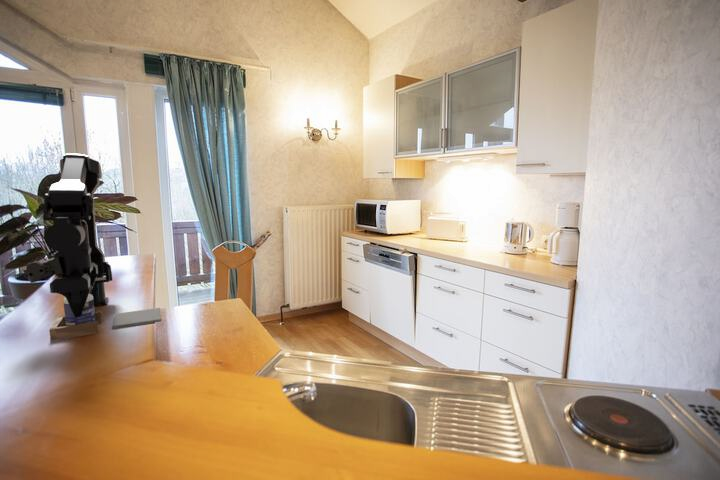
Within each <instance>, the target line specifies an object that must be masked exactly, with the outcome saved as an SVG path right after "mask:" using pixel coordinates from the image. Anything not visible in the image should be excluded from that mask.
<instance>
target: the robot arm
mask: <svg viewBox="0 0 720 480" xmlns="http://www.w3.org/2000/svg"><path fill="white" fill-rule="evenodd" d="M59 168H60V169H59V170H60V179H59V181H58V182H55V183H52V184H51V185H50V187H49V189H48V192H47V193H45V194H44V199H43V200H44V202H43V215H42V219H43V220H42V221H44V222H49V221H50V222H51V221H52V225H51V226H50V227H48V228H47V230H46V231H45V233H44V236H43V237H44V241H45V244H46V245H47V247H49V249H51V250H53V251H55V252H54V253H53V257H51V258H48V259H45V260H42V261H39V260H35V261H33V262H29V263H27V264H26V266H25V267H26V268H25V267H24V268H23V269H22V271H23V277H24V278H25V279H28V281H29V282H30V283H31V284H34V283H35V282H38V281H39V280H41V279H44V278H47V277H50V276H52V275H54V276H55V278H54V279H53V280H52V281H51V282H50V283H49V290H50V293H51V294H59V295H62V296H63V297H64V298H66V299H67V301H68V303H69V305H70V307H71V310H72V312H73V314H74V316H75V317H80V316H81V315H82V312H83V309H84V306H85V303H86V301H87V298H88V295H89V294H91V295H92V296H93V299H94V307H96V306H104V305H107V303H108V301H109V297H106V289H105V287H106V286H105V283H109V282H112V281H113V271H112V267H111V264H109V262H108V260H106V258H105V254H104V252H102V250H101V249H100V247H98V240H97V227H96V226H97V225H96V211H95V199H94V197H95V193H96V192H97V191H98V188H99V187H100V185H101V183H100V179H103V178H102V177H103V176H102V174H103V173H102V167H101V163H100V162H99V161H97V160H95V159H93V158H90V156H89V155H86V154H81V153H65V154H63V155H62V159H60V160H59Z"/></svg>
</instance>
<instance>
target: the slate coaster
mask: <svg viewBox="0 0 720 480" xmlns="http://www.w3.org/2000/svg"><path fill="white" fill-rule="evenodd" d="M158 322H160V323H161V322H162V314H161V307H155V308H149V309H141V310H134V311H125V312H118V313H114V316H113V320H112V324H111V330H112V329H119V328H125V327H132V326H134V327H135V326H140V325H145V324H147V325H148V324H152V323H153V324H155V323H158Z"/></svg>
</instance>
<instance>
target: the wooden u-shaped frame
mask: <svg viewBox="0 0 720 480" xmlns="http://www.w3.org/2000/svg"><path fill="white" fill-rule="evenodd" d="M102 322H103V313H102V310H99V311H95V321H94V322H91V323H84V324H77V325H70V326H66V321H65V315H60V316H59V315H58V317H57V318H56V319H55V321H54V322H53V323H52V325H51V326H50V328H49V330H48V331H49V340H50V341H51V342H52V341H56V340H57V341H58V340H64V339H69V338H77V337H83V336H89V335H90V336H91V335H95V334H99V324H100V323H102Z"/></svg>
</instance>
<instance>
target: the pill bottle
mask: <svg viewBox="0 0 720 480" xmlns="http://www.w3.org/2000/svg"><path fill="white" fill-rule="evenodd" d="M63 310H64V312H63V313H64V316H65V321H66V326H70V325H77V324H84V323H91V322H94V321H95V312H96V311H95V306H94V299H93V296H92V295H91V294H89V295H88V298H87V301H86V303H85V306H84V309H83V312H82V315H81V316H80V317H75V316H74V314H73V312H72V310H71V307H70V305H69V303H68V301H67V299H66V297H64V298H63Z"/></svg>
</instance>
